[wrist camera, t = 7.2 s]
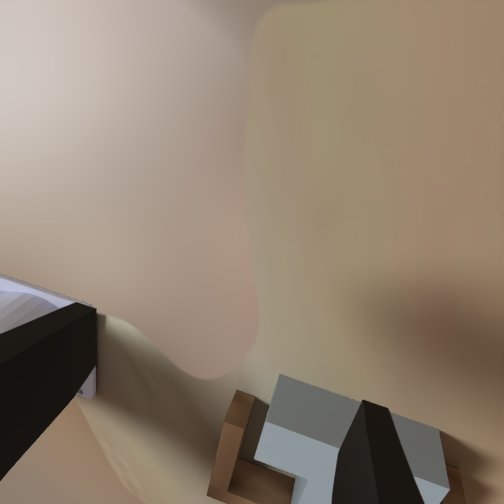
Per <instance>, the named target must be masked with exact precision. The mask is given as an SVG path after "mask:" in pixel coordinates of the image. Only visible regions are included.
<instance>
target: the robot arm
mask: <svg viewBox="0 0 504 504" xmlns="http://www.w3.org/2000/svg"><path fill="white" fill-rule="evenodd" d="M95 394H96V308H94V307H93V306H92V305H90V304H88V303H85V302H82V301H79V300H76V299H73V298H70V297H67V296H64V295H61V294H58V293H56V292H53V291H50V290H46V289H44V288H41V287H38V286H35V285H32V284H29V283H26V282H23V281H20V280H17V279H14V278H12V277H9V276H6V275H3V274H0V481H1V480H2V479H3V477H4V476H5V475H6V474H7V472H8V471H9V470H10V469H11V468H12V467H13V466H14V465H15V463H16V462H17V461H18V460H19V459H20V458H21V457H22V455H23V454H24V453H25V452H26V451H27V450H28V449H29V448H30V447H31V445H32V444H33V443H34V442H35V441H36V440H37V439H38V438H39V436H40V435H41V434H42V433H43V432H44V431H45V430H46V428H47V427H48V426H49V425H50V424H51V423H52V422H53V421H54V420H55V418H56V417H57V416H58V415H59V414H60V413H61V412H62V410H63V409H64V408H65V407H66V406H67V405H68V404H69V402H70V401H71V400H72V399H73V398H74V396H75V395H78V396H81V397H84V398H86V399H92V398H93V397H94V396H95ZM331 504H425V503H424V500H423V498H422V495H421V493H420V491H419V488H418V486H417V484H416V481H415V479H414V476H413V474H412V471H411V469H410V466H409V463H408V461H407V458H406V455H405V453H404V450H403V447H402V445H401V442H400V439H399V436H398V433H397V431H396V428H395V425H394V422H393V419H392V416H391V413H390V411H389V409H388V408H386V407H383V406H380V405H377V404H374V403H371V402H368V401H365V400H362V402H361V404H360V406H359V408H358V411H357V413H356V415H355V417H354V419H353V421H352V424H351V426H350V428H349V430H348V432H347V434H346V436H345V439H344V441H343V443H342V445H341V447H340V449H339V452H338V456H337V463H336V469H335V476H334V483H333V490H332V501H331Z"/></svg>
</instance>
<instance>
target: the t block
mask: <svg viewBox="0 0 504 504" xmlns="http://www.w3.org/2000/svg"><path fill="white" fill-rule="evenodd" d="M360 404H361V402H359V401H356V400H353V399H350V398H347V397H344V396H342V395H339V394H336V393H333V392H330V391H327V390H324V389H321V388H319V387H316V386H313V385H310V384H307V383H304V382H301V381H299V380H296V379H293V378H290V377H287V376H284V375H281V374H279V377H278V380H277V384H276V387H275V390H274V393H273V396H272V399H271V403H270V406H269V409H268V412H267V416H266V419H265V423H264V426H263V429H262V433H261V436H260V440H259V443H258V446H257V450H256V453H255V457H254V459H255V460H258V461H260V462H263V463H266V464H268V465H271V466H273V467H276V468H279V469H281V470H284V471H286V472H289V473H292V474H294V475H296V478H295V483H294V489H293V495H292V500H291V504H331V501H332V490H333V483H334V476H335V469H336V463H337V456H338V452H339V449H340V447H341V445H342V443H343V441H344V439H345V436H346V434H347V432H348V430H349V428H350V426H351V424H352V421H353V419H354V417H355V415H356V413H357V411H358V408H359V406H360ZM391 416H392V419H393V422H394V425H395V428H396V431H397V433H398V436H399V439H400V442H401V445H402V447H403V450H404V453H405V455H406V458H407V461H408V463H409V466H410V469H411V471H412V474H413V476H414V479H415V481H416V484H417V486H418V488H419V491H420V493H421V495H422V498H423V500H424V503H425V504H440V502H441V501H442V500H443V498H444V497H445V495H446V494H447V493H448V491H449V490H450V487H449V482H448V476H447V471H446V465H445V460H444V455H443V449H442V444H441V439H440V433H439V429H436V428H433V427H431V426H428V425H425V424H422V423H419V422H416V421H413V420H410V419H408V418H405V417H402V416H399V415H396V414H393V413H391Z"/></svg>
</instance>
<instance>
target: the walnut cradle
mask: <svg viewBox="0 0 504 504" xmlns="http://www.w3.org/2000/svg"><path fill="white" fill-rule="evenodd" d="M254 400H255V397H254V396H251V395H248V394H245V393H243V392H240V391H237V390H236V393H235V395H234V398H233V400H232V403H231V405H230V407H229V410H228V412H227V415H226V417H225V420H224V423H223V427H222V432H221V436H220V440H219V445H218V449H217V453H216V458H215V462H214V466H213V471H212V475H211V479H210V484H209V488H208V492H207V496H209V497H212V498H214V499H217V500H219V501H222V502H224V503H227V504H291V500H292V495H293V489H294V483H295V479H292V478H289V477H287V476H284V475H281V474H279V473H276V472H274V471H271V470H268V469H266V468H263V467H260V466H258V465H255V464H252V463H250V462H247V461H245V460H242V459H239V454H240V450H241V447H242V443H243V439H244V436H245V432H246V429H247V425H248V421H249V418H250V414H251V410H252V407H253V403H254ZM445 465H446V464H445ZM446 471H447V476H448V482H449V487H450V490H449V491H448V493H447V494H446V495H445V497H444V498H443V500H442V501H441V502H440V504H466V501H465V496H464V492H463V487H462V482H461V477H460V473H459V469H457V468H454V467H451V466H449V465H446Z"/></svg>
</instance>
